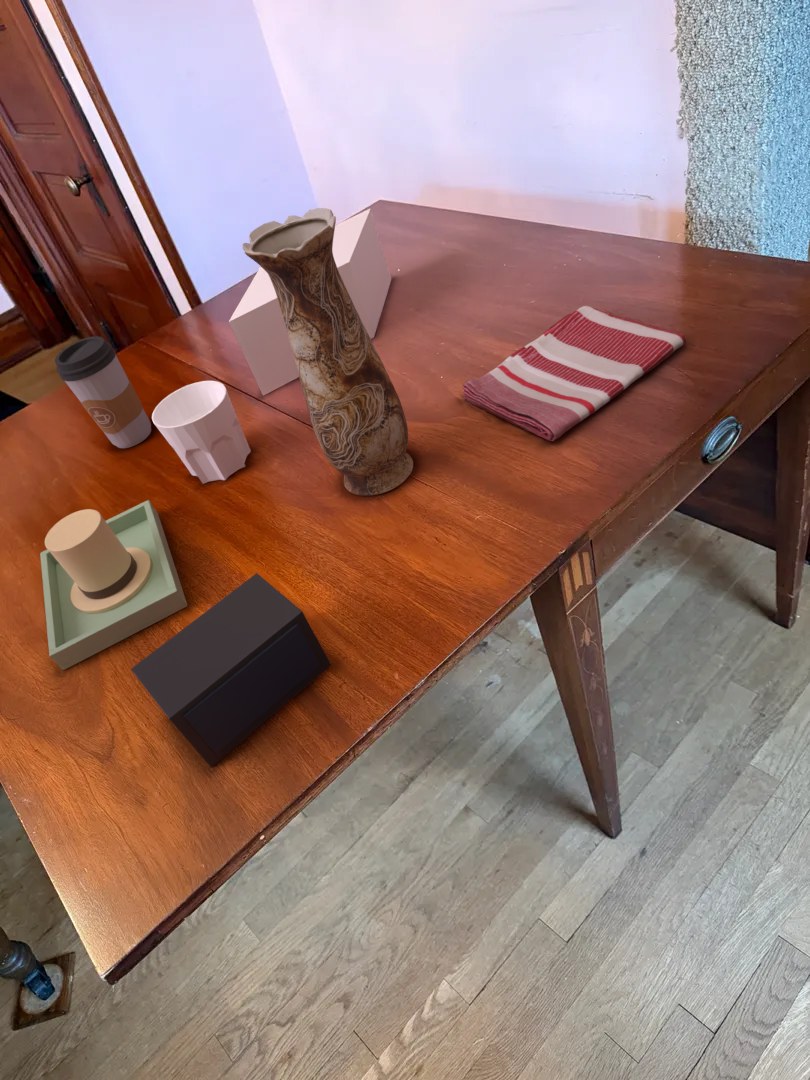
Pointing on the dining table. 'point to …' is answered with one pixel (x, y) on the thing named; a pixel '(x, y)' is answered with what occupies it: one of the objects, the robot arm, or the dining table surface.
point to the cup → (203, 430)
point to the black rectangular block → (233, 667)
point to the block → (262, 315)
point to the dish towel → (571, 370)
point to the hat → (97, 562)
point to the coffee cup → (104, 390)
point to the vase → (334, 354)
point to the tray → (93, 633)
